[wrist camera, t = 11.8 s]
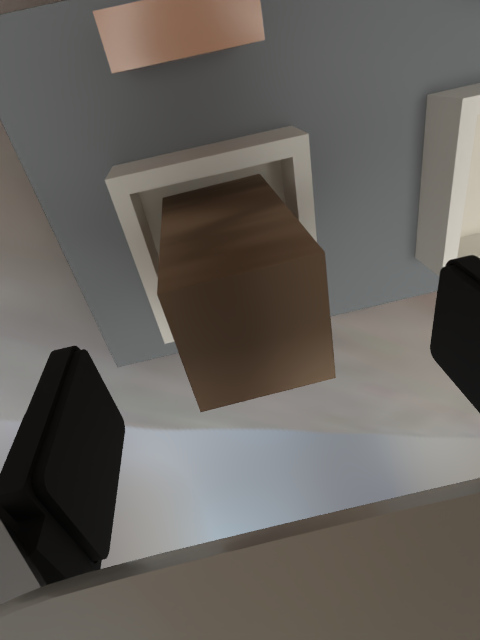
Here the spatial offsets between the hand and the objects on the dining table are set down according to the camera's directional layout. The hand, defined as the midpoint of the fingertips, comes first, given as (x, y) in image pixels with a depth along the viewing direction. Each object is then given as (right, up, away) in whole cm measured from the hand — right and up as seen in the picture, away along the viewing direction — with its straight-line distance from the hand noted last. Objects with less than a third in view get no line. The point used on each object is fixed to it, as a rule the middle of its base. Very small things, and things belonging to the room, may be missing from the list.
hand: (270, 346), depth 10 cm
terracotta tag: (-3, +11, +4) cm, 13 cm away
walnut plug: (-2, +5, +9) cm, 10 cm away
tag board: (+5, +8, +9) cm, 13 cm away
